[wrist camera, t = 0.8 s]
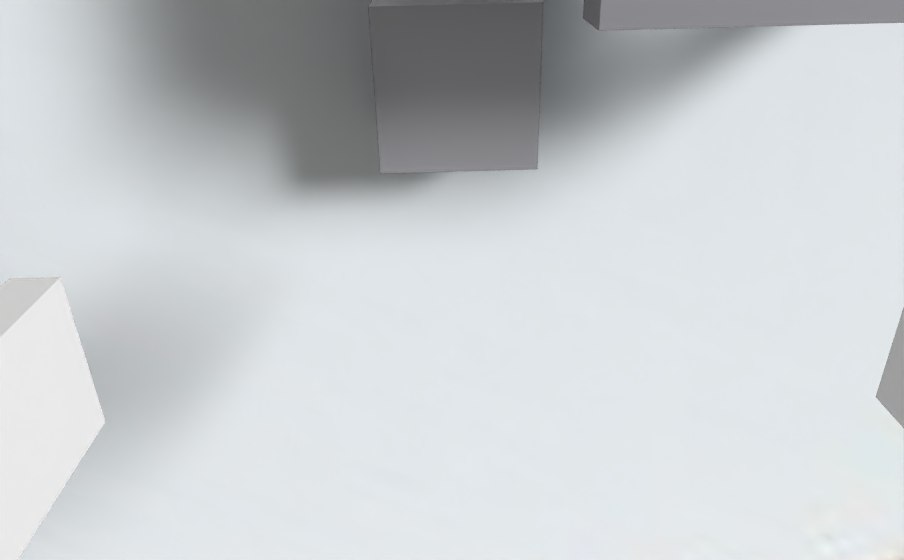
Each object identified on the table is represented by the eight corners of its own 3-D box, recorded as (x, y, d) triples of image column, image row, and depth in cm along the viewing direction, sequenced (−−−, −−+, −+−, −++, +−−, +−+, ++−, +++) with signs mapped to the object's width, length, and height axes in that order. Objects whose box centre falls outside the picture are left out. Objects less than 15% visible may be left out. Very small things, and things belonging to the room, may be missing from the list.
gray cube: (390, 129, 33) (380, 173, 27) (381, -12, 30) (368, 6, 25) (521, 125, 33) (537, 169, 27) (524, -16, 30) (543, 2, 25)
